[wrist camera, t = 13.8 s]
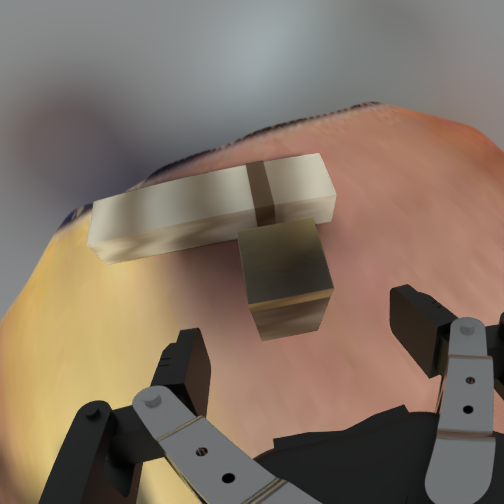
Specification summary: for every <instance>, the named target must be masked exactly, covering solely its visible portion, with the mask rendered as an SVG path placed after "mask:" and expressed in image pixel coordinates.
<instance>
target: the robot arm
mask: <svg viewBox="0 0 504 504" xmlns="http://www.w3.org/2000/svg"><path fill="white" fill-rule="evenodd" d="M390 327H391V330H392V333H393V334H394V336H395V337H396V338H397V339H398V340H399V342H400V343H401V344H402V345H403V347H404V348H405V349H406V350H407V351H408V353H409V354H410V355H411V356H412V358H413V359H414V360H415V361H416V363H417V364H418V365H419V366H420V368H421V369H422V370H423V371H424V373H425V374H426V375H427V376H428V378H429V379H430V378H432V377H435V376H437V375H441V376H442V377H441V382H440V387H439V392H438V398H437V403H436V408H435V412H434V413H433V412H408V410H407V409H406V407H405V405H401V406H398V407H396V408H393V409H390V410H387V411H384V412H381V413H378V414H375V415H373V416H371V417H369V418H367V419H366V420H364V421H362V422H360V423H358V424H356V425H354V426H352V427H350V428H348V429H346V430H343V431H330V432H307V433H302V434H297V435H292V436H286V437H281V438H275V439H273V442H274V448H273V449H271V450H268V451H266V452H264V453H262V454H260V455H258V456H256V457H255V458H253V459H252V458H250V457H249V456H248V455H247V454H246V453H244V452H243V451H242V450H241V449H240V448H238V447H237V446H236V445H235V444H234V443H232V442H231V441H230V440H229V439H228V438H227V437H226V436H224V435H223V434H222V433H221V432H220V431H219V430H218V429H217V428H215V427H214V426H213V425H212V424H211V423H210V422H209V421H208V420H207V419H206V414H207V405H208V396H209V387H210V378H211V365H210V360H209V356H208V353H207V350H206V347H205V344H204V341H203V337H202V334H201V331H200V329H199V328H192V329H186V330H181V331H180V333H179V336H178V339H177V342H176V343H170V344H169V345H168V346H167V347H166V348H165V349H164V350H163V352H162V355H161V358H160V361H159V363H158V367H157V368H156V371H155V374H154V377H153V379H152V382H151V385H150V387H148V388H145V389H143V390H142V391H140V392H139V393H138V394H137V395H136V396H135V397H134V399H133V402H132V405H130V406H127V407H123V408H119V409H115V410H112V409H111V407H110V405H109V404H108V403H107V402H105V401H101V400H97V401H92V402H89V403H87V404H85V405H84V406H82V407H81V408H80V409H79V410H78V412H77V414H76V416H75V418H74V420H73V422H72V424H71V426H70V429H69V431H68V433H67V435H66V437H65V440H64V442H63V444H62V446H61V449H60V451H59V453H58V456H57V458H56V460H55V463H54V465H53V467H52V470H51V472H50V475H49V477H48V480H47V482H46V485H45V487H44V490H43V493H42V495H41V498H40V501H39V503H38V504H136V500H137V494H138V488H139V482H140V477H141V471H142V466H143V462H146V461H150V460H154V459H158V458H162V457H164V458H165V459H166V461H167V462H168V463H169V465H170V466H171V467H172V468H173V470H174V471H175V472H176V474H177V475H178V476H179V477H180V478H181V480H182V481H183V482H184V483H185V485H186V486H187V487H188V488H189V489H190V491H191V492H192V493H193V494H194V495H195V497H196V498H197V499H198V500H199V501H200V503H201V504H504V434H502V433H499V432H495V431H493V413H494V389H495V390H496V392H497V393H498V394H499V395H500V396H501V398H502V399H503V400H504V312H503V313H502V314H501V316H500V321H499V324H498V325H492V326H486V327H485V326H484V324H483V323H482V322H481V321H480V320H478V319H475V318H471V317H462V318H458V317H457V316H455V315H454V314H453V313H452V312H450V311H449V310H448V309H447V308H445V307H444V306H442V305H441V304H440V303H439V302H437V301H436V300H435V299H434V298H433V297H431V296H430V295H427V294H424V293H421V292H417V291H416V290H415V289H414V288H412V287H411V286H410V285H408V284H406V285H402V286H398V287H395V288H392V289H391V290H390Z"/></svg>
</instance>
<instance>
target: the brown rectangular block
mask: <svg viewBox="0 0 504 504" xmlns="http://www.w3.org/2000/svg"><path fill="white" fill-rule="evenodd" d="M237 236H238V243H239V249H240V256H241V263H242V269H243V276H244V282H245V289H246V295H247V301H248V306H249V309H250V311H251V313H252V316H253V318H254V321H255V324H256V326H257V329H258V332H259V334H260V337H261V339H262V341H266V340H272V339H277V338H282V337H288V336H293V335H298V334H303V333H307V332H312V331H317V330H318V328H319V326H320V323H321V321H322V318H323V315H324V313H325V310H326V307H327V305H328V302H329V299H330V297H331V295H332V293H333V290H334V286H333V282H332V279H331V275H330V272H329V268H328V265H327V261H326V258H325V254H324V251H323V248H322V244H321V241H320V238H319V234H318V231H317V228H316V225H315V221H314V218H313V217H312V218H307V219H301V220H295V221H290V222H284V223H279V224H273V225H268V226H262V227H257V228H252V229H246V230H241V231H237Z"/></svg>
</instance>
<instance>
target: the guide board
mask: <svg viewBox="0 0 504 504" xmlns="http://www.w3.org/2000/svg"><path fill="white" fill-rule="evenodd" d="M336 195H337V194H336V192H335V189H334V187H333V184H332V182H331V179H330V177H329V175H328V172H327V170H326V168H325V165H324V163H323V161H322V158H321V156H320V154H319V153H317V154H309V155H303V156H296V157H289V158H283V159H277V160H271V161H265V162H263V161H258V162H253V163H247V164H246V165H243V166H238V167H233V168H228V169H223V170H218V171H213V172H208V173H204V174H199V175H195V176H190V177H186V178H181V179H177V180H173V181H169V182H165V183H161V184H157V185H153V186H149V187H145V188H141V189H137V190H134V191H130V192H126V193H123V194H119V195H116V196H112V197H109V198H105V199H102V200H99V201H95V202H94V205H93V210H92V216H91V222H90V228H89V234H88V241H87V246H88V247H89V248H90V249H91V250H92V251H93V252H94V253H96V254H97V255H98V256H99V257H100V258H101V259H102V260H103V261H104V262H105V263H106V264H107V265H110V264H114V263H119V262H124V261H129V260H134V259H139V258H144V257H148V256H153V255H158V254H163V253H168V252H173V251H178V250H183V249H188V248H194V247H199V246H204V245H209V244H214V243H219V242H224V241H230V240H235V239H238V236H237V231H241V230H246V229H252V228H257V227H262V226H268V225H273V224H279V223H284V222H290V221H295V220H301V219H307V218H312V217H313V218H314V221H315V224H321V223H326V222H332V216H333V211H334V206H335V200H336Z"/></svg>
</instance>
